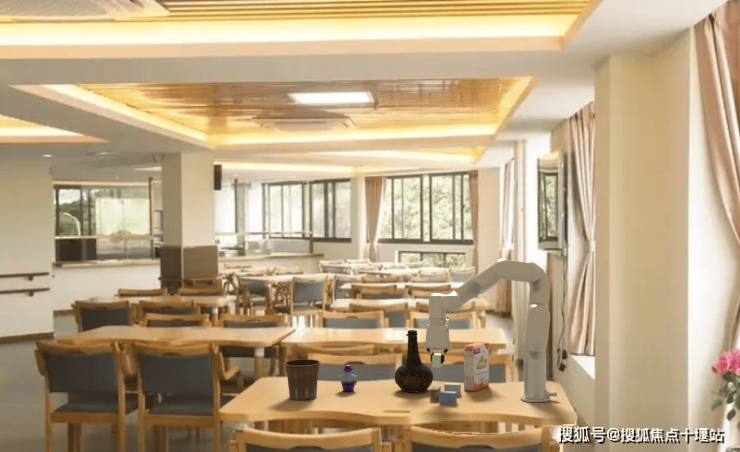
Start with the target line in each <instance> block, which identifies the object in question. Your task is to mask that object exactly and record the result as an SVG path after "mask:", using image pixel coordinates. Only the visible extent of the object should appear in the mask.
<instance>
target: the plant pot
mask: <svg viewBox="0 0 740 452" xmlns="http://www.w3.org/2000/svg"><path fill="white" fill-rule="evenodd" d="M283 364H284V365H285V371H286V372H285V373H286V375H287V376H286V377H287V385H288V393H289V394H288V395H289V399H291V400H294V401H306V400H310V399H311V400H315V398H317V395H318V394H317V391H318V378H319V376H318V375H319V371H320V369H319V368H320V364H321V361H320V360H317V359H311V358H309V359H308V358H306V359H305V358H301V359H300V358H299V359H291V360H290V359H289V360H287V361H285V362H283ZM311 400H310V401H311Z"/></svg>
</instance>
